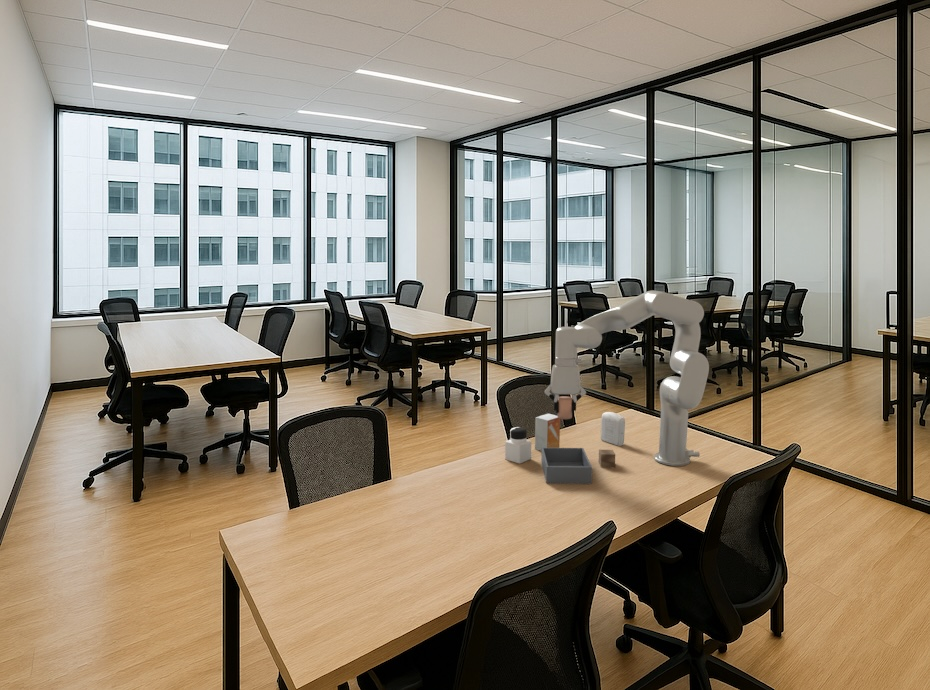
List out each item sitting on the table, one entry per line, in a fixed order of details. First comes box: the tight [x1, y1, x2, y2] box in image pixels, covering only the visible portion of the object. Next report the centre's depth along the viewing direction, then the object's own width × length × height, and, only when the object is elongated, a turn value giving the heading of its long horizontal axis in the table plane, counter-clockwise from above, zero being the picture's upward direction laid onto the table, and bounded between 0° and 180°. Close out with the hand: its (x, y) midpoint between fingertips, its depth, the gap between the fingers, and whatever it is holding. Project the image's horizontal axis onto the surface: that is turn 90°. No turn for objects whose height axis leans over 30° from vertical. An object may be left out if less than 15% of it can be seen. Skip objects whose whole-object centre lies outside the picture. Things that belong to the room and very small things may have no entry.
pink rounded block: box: [557, 395, 573, 420], centre depth 215 cm, size 5×5×7 cm
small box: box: [534, 413, 561, 452], centre depth 237 cm, size 8×6×13 cm
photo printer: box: [600, 411, 626, 447], centre depth 244 cm, size 10×4×12 cm, turn 36°
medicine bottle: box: [504, 426, 532, 464], centre depth 226 cm, size 7×7×12 cm
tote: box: [540, 447, 593, 485], centre depth 213 cm, size 15×19×6 cm
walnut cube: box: [598, 449, 616, 468], centre depth 221 cm, size 5×5×5 cm
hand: (564, 411), depth 215 cm, fingers closed on pink rounded block, 4 cm apart
